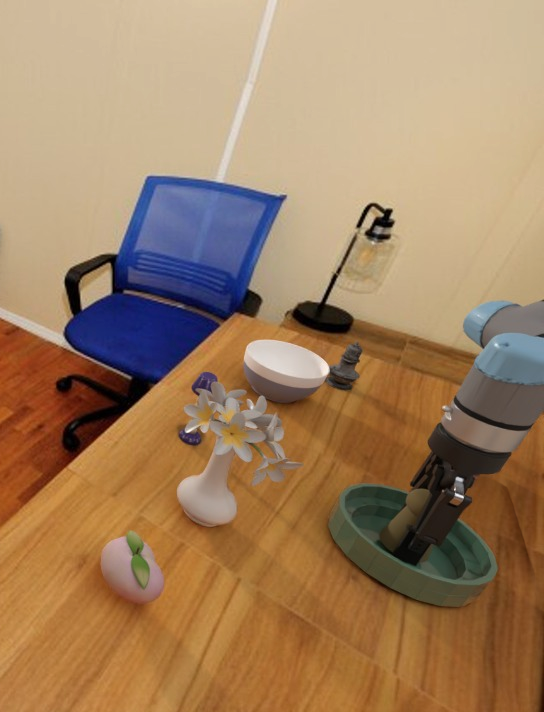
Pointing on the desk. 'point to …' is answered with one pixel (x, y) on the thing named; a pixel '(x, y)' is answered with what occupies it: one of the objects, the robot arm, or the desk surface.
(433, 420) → the desk surface
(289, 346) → the bowl
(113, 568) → the decorative fruit
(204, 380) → the toy lamp
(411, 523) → the olive brown pawn
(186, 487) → the flower vase
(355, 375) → the grey stone figurine
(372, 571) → the green bowl
